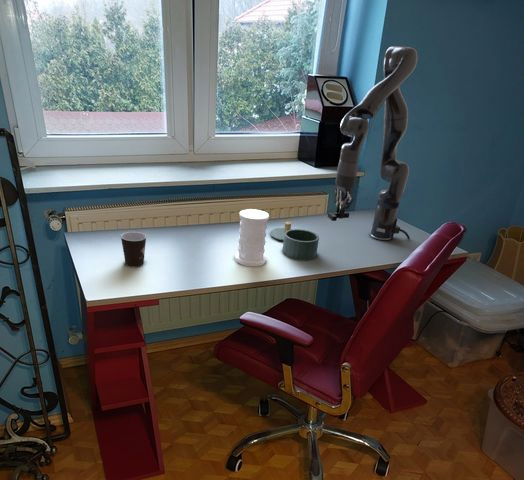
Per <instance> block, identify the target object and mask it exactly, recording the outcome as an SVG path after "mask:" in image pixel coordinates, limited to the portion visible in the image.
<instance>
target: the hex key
mask: <svg viewBox="0 0 524 480" xmlns="http://www.w3.org/2000/svg"><path fill="white" fill-rule="evenodd" d="M338 214H339V212H336V211H335V212H334V211H332V212H331V211H329V212H327V219H329V220H330V221H332V222H337V220H338V219H339V218H338ZM349 218H350V212H348V211H345V213H344V218H343V219H349Z"/></svg>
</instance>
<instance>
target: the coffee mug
mask: <svg viewBox="0 0 524 480" xmlns="http://www.w3.org/2000/svg"><path fill="white" fill-rule="evenodd" d="M120 241H121V245H122V252H123V257H124V264H125V265H126V266H128V267H134V268H135V267H140V266H143V265H144V263H145V253H146V245H147V244H146V243H147V242H146V241H147V235H146V234H145V233H143V232H138V231H128V232H127V231H126V232H123V233H122V234H120Z"/></svg>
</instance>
